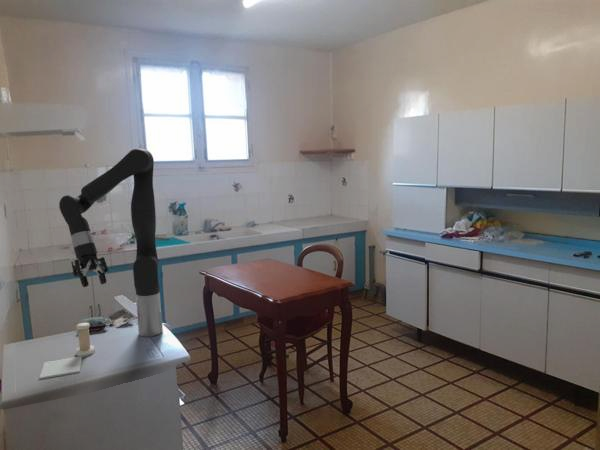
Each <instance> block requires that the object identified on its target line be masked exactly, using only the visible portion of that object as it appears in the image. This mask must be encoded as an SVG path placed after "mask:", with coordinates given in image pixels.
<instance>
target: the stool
mask: <svg viewBox="0 0 600 450" xmlns="http://www.w3.org/2000/svg"><path fill="white" fill-rule="evenodd" d="M89 327H90V324H89V323H80V324H79V323H78V324H76V330H77V329H78V330H77V332H78V333H77V335H78V346H79V347H77V348H76V349H75V355H76V356H75V357H80V356H82V358H84V357H88V356H91V355H93V354H94V353H96V348H95V346H94V345H91V339H90V331H89Z"/></svg>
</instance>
